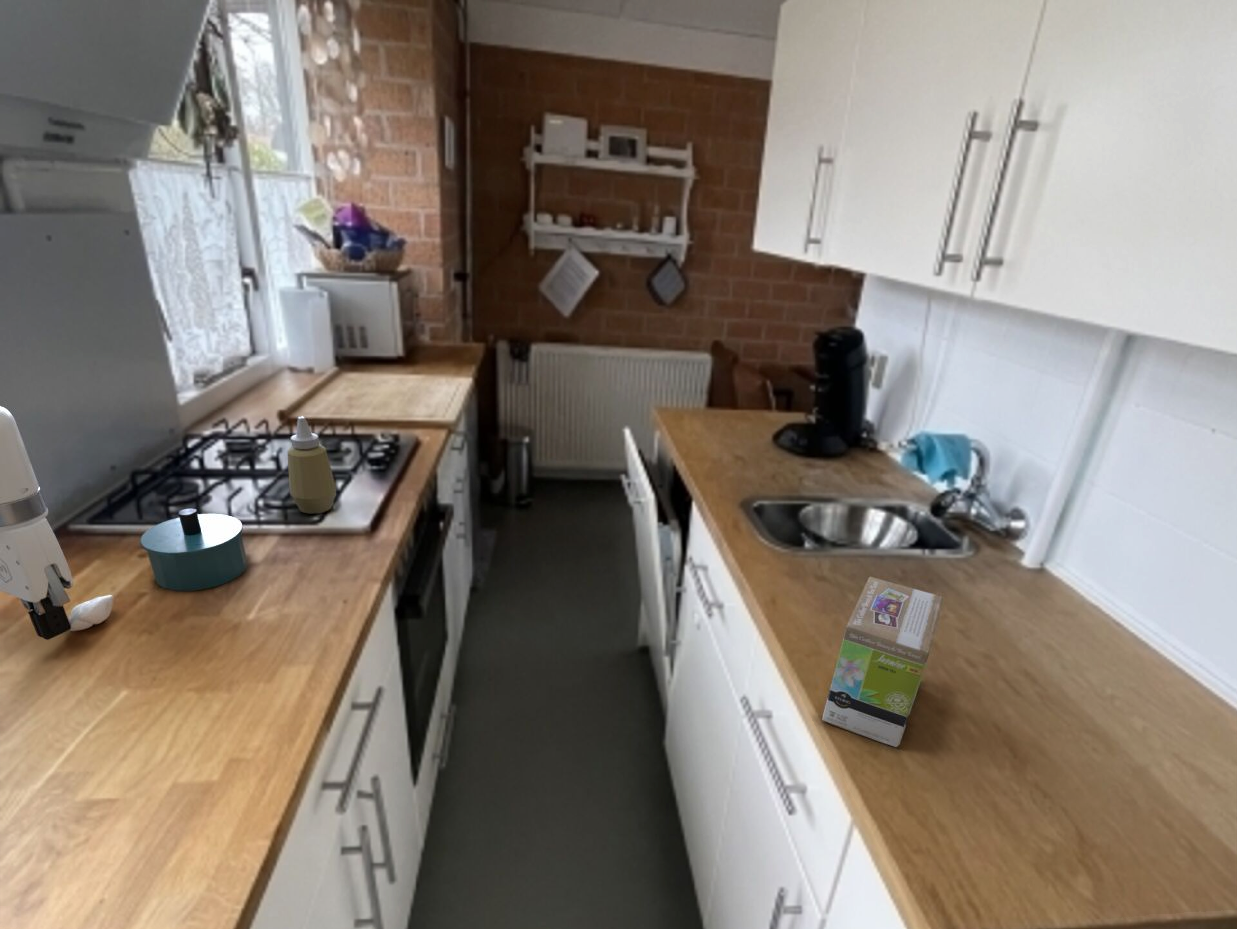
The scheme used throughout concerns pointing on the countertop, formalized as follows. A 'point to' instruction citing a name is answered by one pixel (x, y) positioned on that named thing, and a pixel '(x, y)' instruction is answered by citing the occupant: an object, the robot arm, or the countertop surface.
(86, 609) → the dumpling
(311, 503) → the squeeze bottle
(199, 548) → the pot lid
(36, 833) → the countertop surface
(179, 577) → the pot
